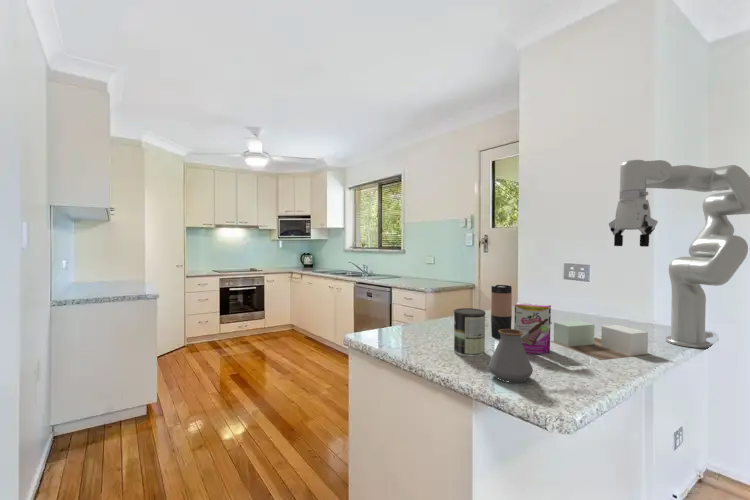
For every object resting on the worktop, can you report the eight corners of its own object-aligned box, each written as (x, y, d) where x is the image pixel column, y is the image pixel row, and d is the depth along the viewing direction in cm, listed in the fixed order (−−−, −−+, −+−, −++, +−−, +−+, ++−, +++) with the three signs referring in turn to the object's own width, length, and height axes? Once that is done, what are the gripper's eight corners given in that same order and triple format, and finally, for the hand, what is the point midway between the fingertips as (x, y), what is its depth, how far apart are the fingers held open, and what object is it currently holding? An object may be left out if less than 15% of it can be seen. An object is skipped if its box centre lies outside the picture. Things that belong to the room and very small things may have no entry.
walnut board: (595, 340, 141) (595, 337, 141) (652, 357, 120) (652, 354, 120) (549, 343, 136) (549, 341, 136) (600, 363, 115) (600, 359, 115)
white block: (601, 346, 130) (601, 326, 129) (617, 344, 131) (617, 324, 131) (630, 355, 119) (630, 333, 119) (647, 353, 121) (647, 332, 121)
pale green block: (578, 339, 139) (579, 320, 139) (594, 344, 132) (594, 324, 132) (553, 341, 136) (553, 322, 136) (568, 346, 129) (568, 326, 129)
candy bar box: (513, 352, 126) (514, 304, 125) (514, 348, 130) (515, 302, 130) (550, 357, 121) (550, 306, 120) (550, 352, 125) (550, 304, 125)
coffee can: (449, 354, 125) (449, 311, 124) (459, 346, 133) (459, 307, 133) (480, 358, 119) (480, 315, 119) (488, 350, 128) (488, 309, 128)
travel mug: (512, 339, 142) (513, 287, 141) (491, 338, 143) (492, 286, 143) (509, 334, 149) (510, 285, 149) (489, 334, 151) (490, 284, 150)
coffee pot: (511, 389, 95) (511, 330, 95) (479, 374, 105) (479, 321, 105) (566, 375, 105) (566, 321, 104) (532, 363, 115) (532, 314, 115)
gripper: (666, 194, 122) (664, 246, 122) (618, 199, 139) (617, 246, 139) (648, 193, 120) (646, 246, 120) (602, 198, 137) (601, 245, 137)
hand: (630, 246), depth 130 cm, fingers open, 9 cm apart
